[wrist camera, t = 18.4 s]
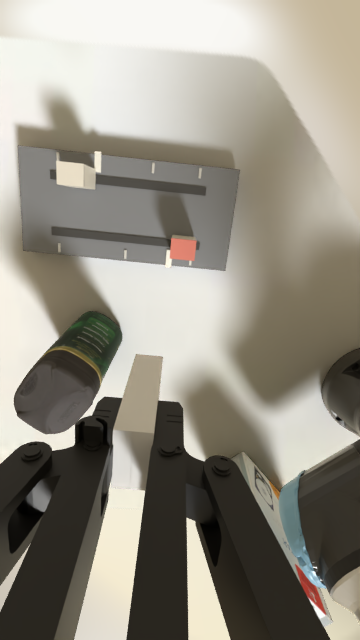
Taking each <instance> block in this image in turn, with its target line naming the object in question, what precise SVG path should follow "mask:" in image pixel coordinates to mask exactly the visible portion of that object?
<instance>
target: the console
mask: <svg viewBox="0 0 360 640" xmlns="http://www.w3.org/2000/svg"><path fill="white" fill-rule="evenodd" d="M18 158H19V177H20V196H21V215H22V235H23V251H32V252H42V253H52V254H62V255H72V256H82V257H92V258H102V259H112V260H122V261H132V262H142V263H152V264H161V265H165V267H167V268H171V266H181V267H191V268H201V269H211V270H221V271H225V269H226V262H227V255H228V248H229V242H230V235H231V228H232V221H233V214H234V207H235V200H236V193H237V186H238V180H239V173H240V170H236V169H227V168H218V167H209V166H200V165H191V164H182V163H173V162H164V161H155V160H146V159H136V158H127V157H118V156H109V155H101V152H99V151H95V154H91V153H82V152H73V151H64V150H55V149H46V148H36V147H27V146H18ZM56 161H62V162H72V163H81V164H85V165H87V166H89V167H92V168H94V169H96V182H95V190H94V189H84V188H75V187H68V186H63V185H58V184H57V174H56ZM172 235H181V236H191V237H195V239H196V241H197V242H196V251H195V259H194V261H189V260H179V259H170V248H171V238H172Z"/></svg>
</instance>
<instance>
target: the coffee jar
mask: <svg viewBox="0 0 360 640" xmlns="http://www.w3.org/2000/svg"><path fill="white" fill-rule="evenodd" d="M121 341H122V332H121V330H120V328H119V327H118V326H117V325H116V324H115V323H114V322H113V321H112V320H110V319H109V318H108V317H106V316H104V315H103V314H101V313H98V312H87V313H85V314H83V315H82V316H81V317H80V318H79V319H78V320H77V321H76V322H75V323H74V324H73V325H72V326H71V327H70V328H69V329H68V330H67V331H66V332H65V333H64V334H63V335H62V336H61V337H60V338H59V339H58V340H57V341H56V342H55V343H54V344H53V345H52V346H51V347H50V348H49V349H48V350H47V351H46V353H45V354H44V355H43V356H42V357H41V358H40V359H39V360H38V361H37V363H36V364H35V365H34V366H33V368H32V369H31V370H30V371H29V372H28V374H27V375H26V377H25V378H24V379H23V381H22V383H21V384H20V386H19V387H18V389H17V391H16V393H15V396H14V406H15V410H16V412H17V416H18V417H19V418H20V419H22V420H23V421H24V422H26V423H27V424H29V425H30V426H32V427H33V428H35V429H37V430H38V431H40V432H42V433H44V434H57V433H61V432H64V431H66V430H68V429H69V428H70V427H71V426H73V425H74V424H76V423H77V422H78V420H79V419H80V418H81V417H82V416H83V414H84V413H85V412H86V411H87V410H88V409H89V407H90V406H91V405H92V403H93V400H94V398H95V396H96V394H97V393H98V391H99V388H100V386H101V383H102V380H103V378H104V376H105V374H106V372H107V370H108V368H109V366H110V364H111V362H112V360H113V358H114V356H115V354H116V352H117V350H118V348H119V346H120V344H121Z"/></svg>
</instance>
